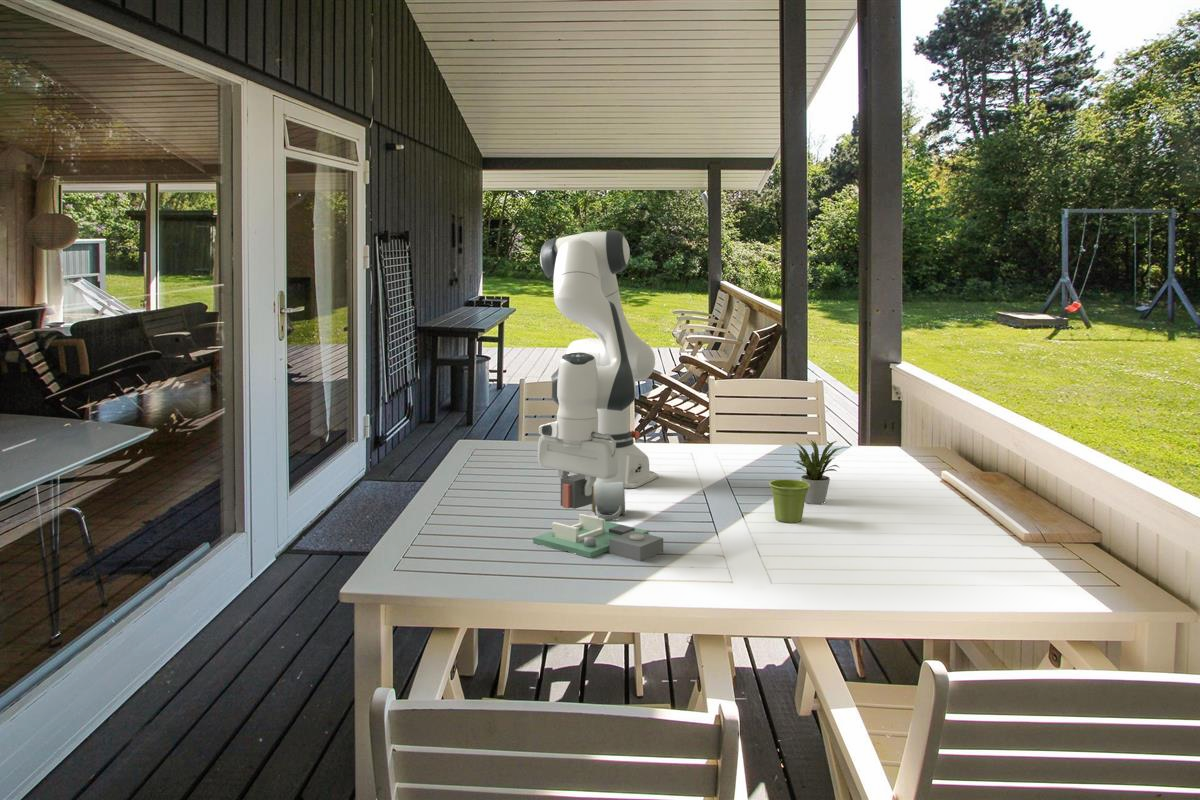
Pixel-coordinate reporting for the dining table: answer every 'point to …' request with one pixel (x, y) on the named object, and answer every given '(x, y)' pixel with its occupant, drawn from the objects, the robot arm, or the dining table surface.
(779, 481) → the plant pot
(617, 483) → the ceramic mug
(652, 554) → the gray push button box
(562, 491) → the plug
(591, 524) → the board
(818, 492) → the house plant
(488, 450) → the dining table surface
